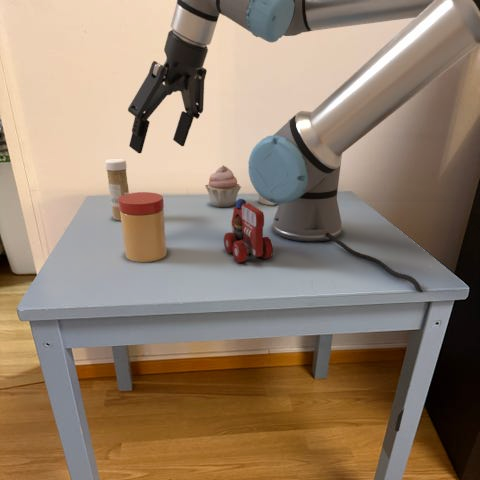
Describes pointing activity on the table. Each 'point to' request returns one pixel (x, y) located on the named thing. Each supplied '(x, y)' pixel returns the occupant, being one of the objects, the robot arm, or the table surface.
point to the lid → (141, 203)
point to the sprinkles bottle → (116, 183)
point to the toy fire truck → (247, 233)
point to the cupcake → (222, 188)
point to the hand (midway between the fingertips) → (157, 146)
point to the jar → (144, 236)
